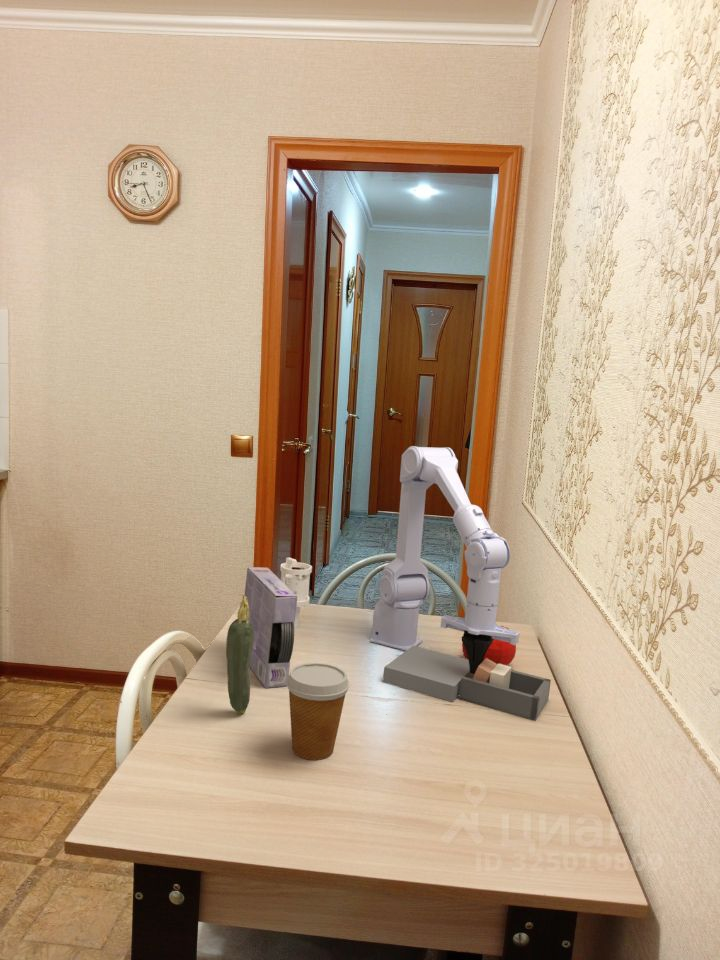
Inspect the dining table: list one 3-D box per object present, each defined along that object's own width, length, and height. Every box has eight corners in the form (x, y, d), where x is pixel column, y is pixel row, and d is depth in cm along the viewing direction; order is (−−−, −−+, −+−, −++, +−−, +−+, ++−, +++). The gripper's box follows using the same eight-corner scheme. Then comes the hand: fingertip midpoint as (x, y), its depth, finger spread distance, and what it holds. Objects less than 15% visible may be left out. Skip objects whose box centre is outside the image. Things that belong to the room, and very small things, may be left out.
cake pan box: (292, 689, 129) (299, 594, 126) (266, 692, 126) (272, 595, 124) (261, 649, 146) (267, 565, 143) (237, 651, 144) (242, 566, 141)
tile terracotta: (478, 666, 130) (490, 673, 129) (486, 657, 135) (498, 664, 134) (467, 688, 132) (479, 696, 131) (476, 679, 136) (487, 686, 135)
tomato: (518, 678, 142) (523, 636, 141) (463, 673, 142) (467, 631, 141) (508, 658, 152) (512, 619, 151) (457, 653, 152) (461, 614, 151)
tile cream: (490, 671, 130) (504, 675, 128) (498, 663, 134) (511, 666, 133) (487, 697, 130) (500, 701, 129) (495, 688, 135) (508, 692, 134)
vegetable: (243, 722, 114) (250, 602, 112) (217, 718, 115) (224, 599, 113) (252, 711, 119) (260, 595, 116) (228, 706, 120) (235, 591, 117)
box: (459, 698, 130) (461, 678, 130) (476, 680, 139) (478, 661, 138) (535, 720, 124) (538, 698, 123) (548, 700, 133) (550, 679, 132)
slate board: (382, 681, 135) (384, 666, 134) (411, 659, 147) (413, 645, 147) (452, 702, 128) (454, 686, 128) (477, 676, 141) (478, 662, 140)
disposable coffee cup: (347, 737, 112) (353, 665, 111) (339, 769, 103) (346, 691, 101) (288, 730, 113) (293, 658, 112) (275, 761, 104) (280, 683, 102)
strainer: (296, 618, 166) (301, 555, 164) (313, 628, 161) (318, 563, 159) (270, 622, 162) (274, 558, 160) (287, 632, 156) (292, 566, 154)
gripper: (437, 598, 131) (430, 668, 133) (514, 615, 125) (506, 689, 127) (450, 590, 138) (444, 657, 139) (525, 606, 131) (516, 676, 133)
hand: (474, 672), depth 134 cm, fingers closed
